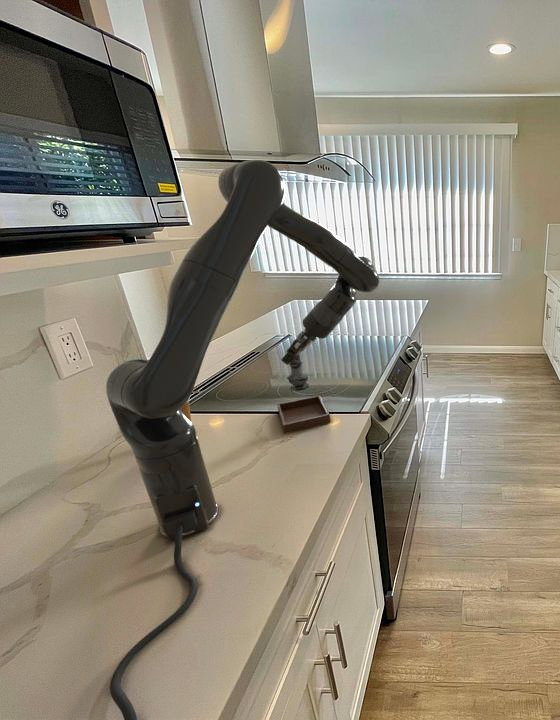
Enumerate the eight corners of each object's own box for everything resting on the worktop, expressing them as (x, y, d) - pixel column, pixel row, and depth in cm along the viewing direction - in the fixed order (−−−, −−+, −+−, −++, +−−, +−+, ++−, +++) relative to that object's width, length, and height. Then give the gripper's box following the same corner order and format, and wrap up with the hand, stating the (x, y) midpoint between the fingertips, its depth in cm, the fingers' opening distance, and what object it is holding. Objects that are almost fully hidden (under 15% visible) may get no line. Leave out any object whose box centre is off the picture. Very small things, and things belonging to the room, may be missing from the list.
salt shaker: (295, 393, 111) (288, 352, 106) (285, 388, 114) (277, 348, 110) (315, 386, 115) (308, 347, 111) (303, 381, 118) (297, 343, 114)
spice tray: (330, 422, 115) (329, 414, 114) (284, 433, 109) (283, 425, 108) (320, 402, 127) (319, 395, 126) (278, 411, 121) (277, 404, 120)
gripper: (322, 302, 113) (286, 343, 117) (302, 314, 100) (263, 360, 104) (343, 320, 115) (307, 360, 119) (326, 334, 102) (287, 378, 106)
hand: (287, 360), depth 111 cm, fingers closed on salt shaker, 3 cm apart
